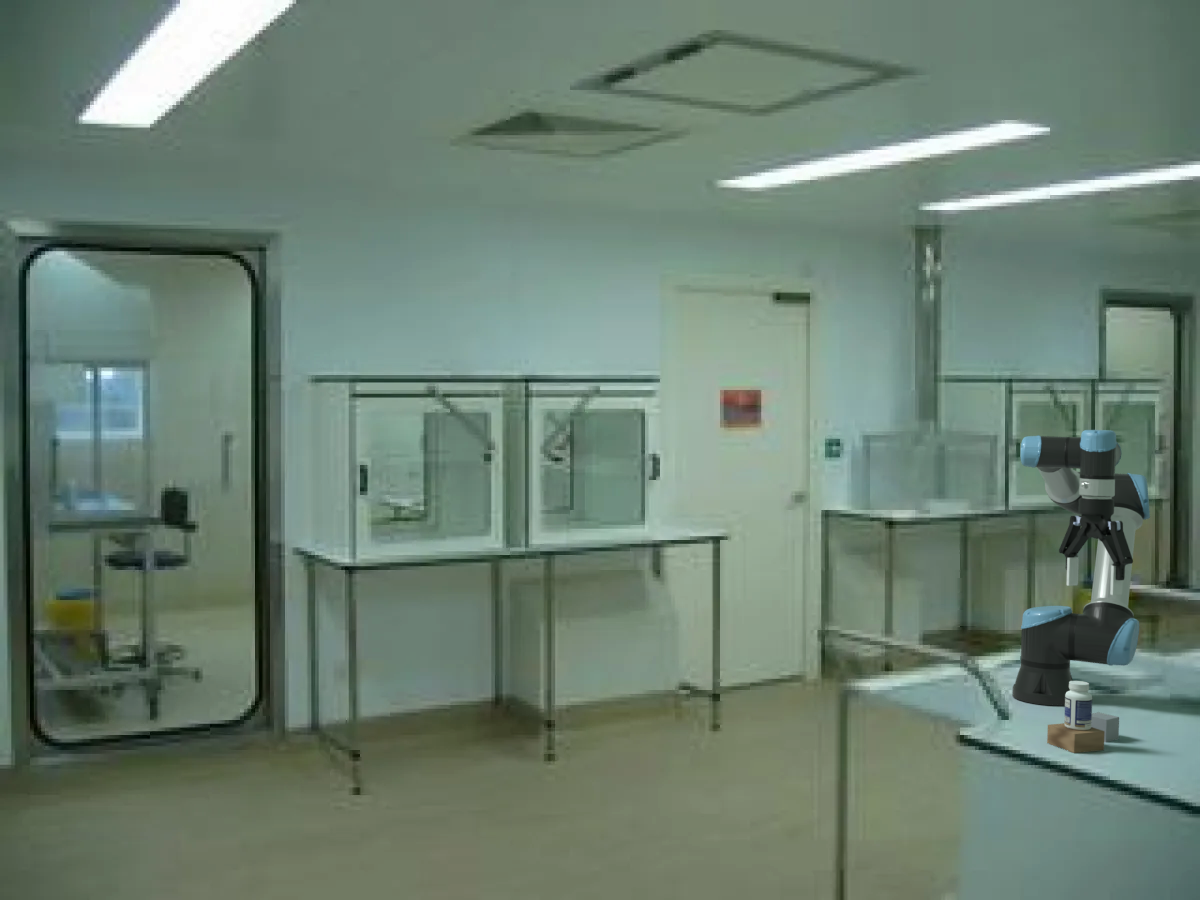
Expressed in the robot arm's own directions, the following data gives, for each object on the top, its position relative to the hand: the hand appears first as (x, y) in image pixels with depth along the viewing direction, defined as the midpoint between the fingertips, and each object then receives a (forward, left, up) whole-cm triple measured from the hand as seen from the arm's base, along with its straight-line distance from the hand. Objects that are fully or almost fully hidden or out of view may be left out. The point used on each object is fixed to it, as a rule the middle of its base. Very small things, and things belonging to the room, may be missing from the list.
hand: (1093, 589), depth 275 cm
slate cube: (+10, -6, -31) cm, 33 cm away
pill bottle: (+14, -16, -27) cm, 35 cm away
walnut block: (+14, -17, -31) cm, 38 cm away
